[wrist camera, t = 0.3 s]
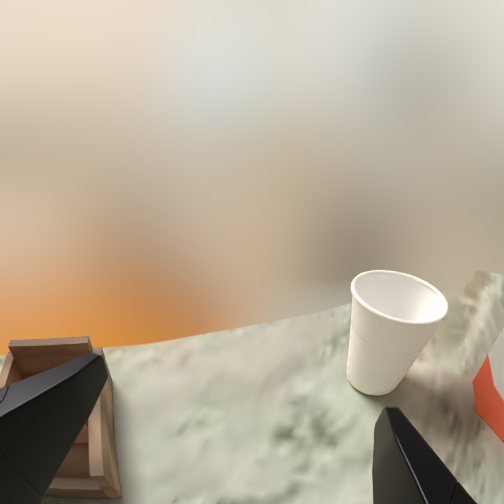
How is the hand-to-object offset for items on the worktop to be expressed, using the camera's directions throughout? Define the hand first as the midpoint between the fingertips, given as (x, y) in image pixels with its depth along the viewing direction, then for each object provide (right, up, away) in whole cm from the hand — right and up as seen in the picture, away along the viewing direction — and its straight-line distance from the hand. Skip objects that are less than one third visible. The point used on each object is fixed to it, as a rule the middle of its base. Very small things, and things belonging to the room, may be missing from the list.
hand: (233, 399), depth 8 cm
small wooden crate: (-17, -12, +13) cm, 24 cm away
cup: (+14, -10, +22) cm, 28 cm away
